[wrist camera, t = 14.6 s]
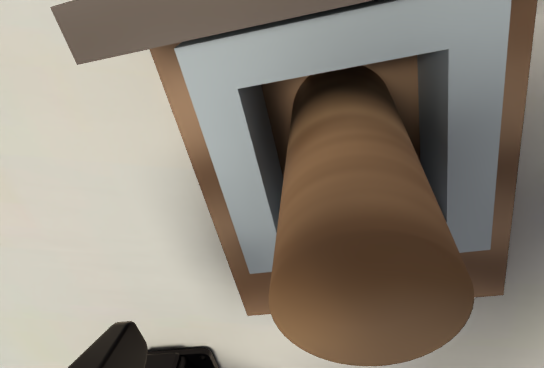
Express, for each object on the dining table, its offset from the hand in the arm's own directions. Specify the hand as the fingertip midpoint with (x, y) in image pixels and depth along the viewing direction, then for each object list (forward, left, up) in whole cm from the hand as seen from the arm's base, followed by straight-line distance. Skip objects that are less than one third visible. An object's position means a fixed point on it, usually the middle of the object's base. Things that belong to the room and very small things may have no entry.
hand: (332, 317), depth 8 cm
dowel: (+1, -1, -10) cm, 10 cm away
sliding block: (0, -1, -10) cm, 10 cm away
